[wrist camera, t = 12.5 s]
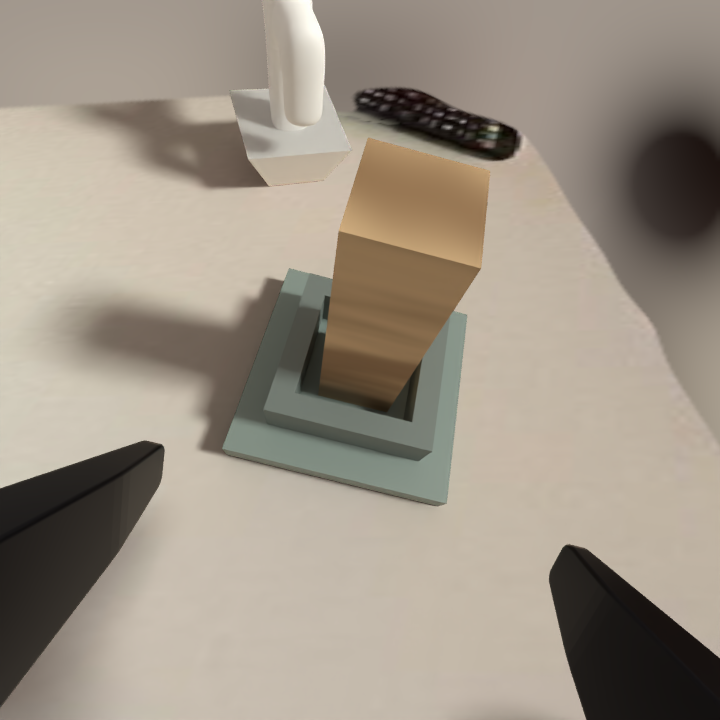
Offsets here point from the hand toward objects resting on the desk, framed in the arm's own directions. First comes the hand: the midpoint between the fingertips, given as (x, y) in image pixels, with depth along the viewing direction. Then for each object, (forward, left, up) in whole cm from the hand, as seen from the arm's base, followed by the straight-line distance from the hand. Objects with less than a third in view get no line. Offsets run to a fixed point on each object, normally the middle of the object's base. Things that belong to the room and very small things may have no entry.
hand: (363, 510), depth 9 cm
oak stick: (+9, -1, -12) cm, 15 cm away
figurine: (+27, +6, -14) cm, 31 cm away
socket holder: (+9, -1, -14) cm, 16 cm away
